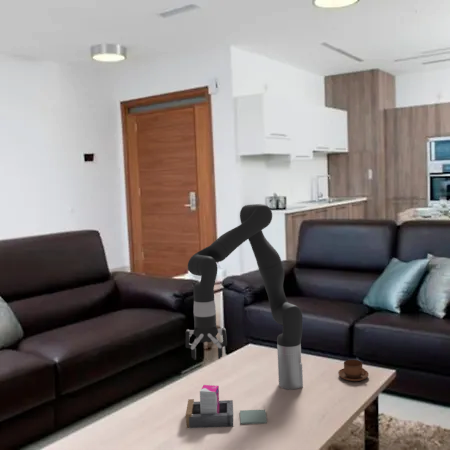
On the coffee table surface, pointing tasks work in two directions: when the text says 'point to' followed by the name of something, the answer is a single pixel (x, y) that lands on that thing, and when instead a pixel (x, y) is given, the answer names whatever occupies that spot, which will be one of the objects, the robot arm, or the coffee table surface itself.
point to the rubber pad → (253, 416)
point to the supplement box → (209, 399)
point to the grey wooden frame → (209, 415)
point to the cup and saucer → (353, 371)
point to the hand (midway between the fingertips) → (207, 358)
